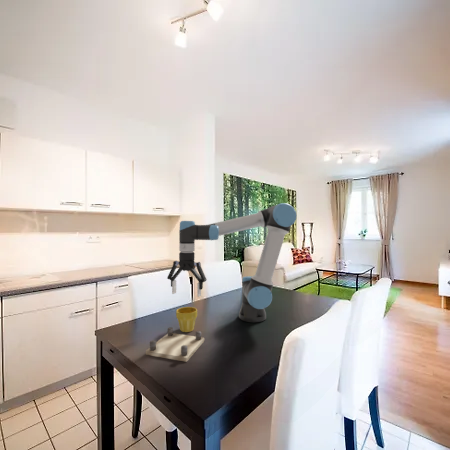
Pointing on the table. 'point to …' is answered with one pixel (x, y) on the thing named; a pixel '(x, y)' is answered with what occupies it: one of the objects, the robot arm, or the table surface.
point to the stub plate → (175, 346)
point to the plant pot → (186, 318)
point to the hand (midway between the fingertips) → (186, 294)
